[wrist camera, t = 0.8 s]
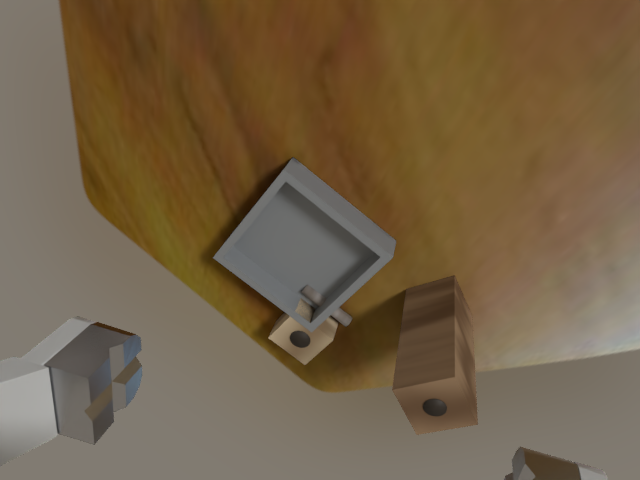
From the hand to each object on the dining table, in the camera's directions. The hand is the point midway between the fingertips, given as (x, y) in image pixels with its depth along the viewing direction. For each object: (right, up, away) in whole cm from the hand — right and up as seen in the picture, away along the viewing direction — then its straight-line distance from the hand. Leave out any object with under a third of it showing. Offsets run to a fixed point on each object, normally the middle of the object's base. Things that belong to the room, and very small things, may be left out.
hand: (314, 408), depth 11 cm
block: (+12, -3, +42) cm, 43 cm away
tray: (-1, +3, +42) cm, 42 cm away
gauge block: (-1, -5, +46) cm, 47 cm away
